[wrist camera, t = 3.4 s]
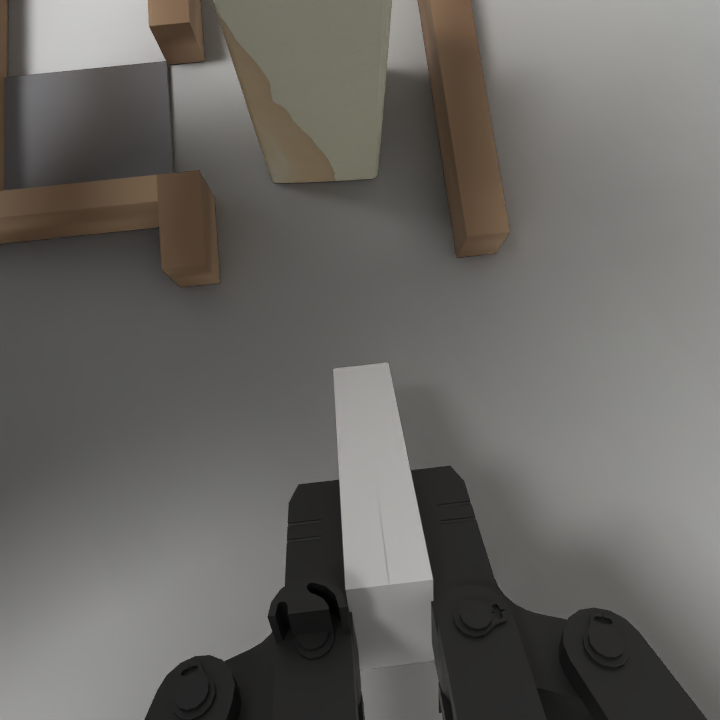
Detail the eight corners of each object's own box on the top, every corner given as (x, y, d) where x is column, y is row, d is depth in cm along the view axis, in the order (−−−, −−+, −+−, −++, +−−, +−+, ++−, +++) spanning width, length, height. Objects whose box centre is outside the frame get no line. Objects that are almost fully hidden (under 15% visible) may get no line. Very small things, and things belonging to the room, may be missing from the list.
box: (267, 71, 22) (175, -308, 11) (373, 66, 22) (385, -317, 11) (271, 191, 21) (175, -93, 10) (381, 185, 21) (403, -105, 10)
